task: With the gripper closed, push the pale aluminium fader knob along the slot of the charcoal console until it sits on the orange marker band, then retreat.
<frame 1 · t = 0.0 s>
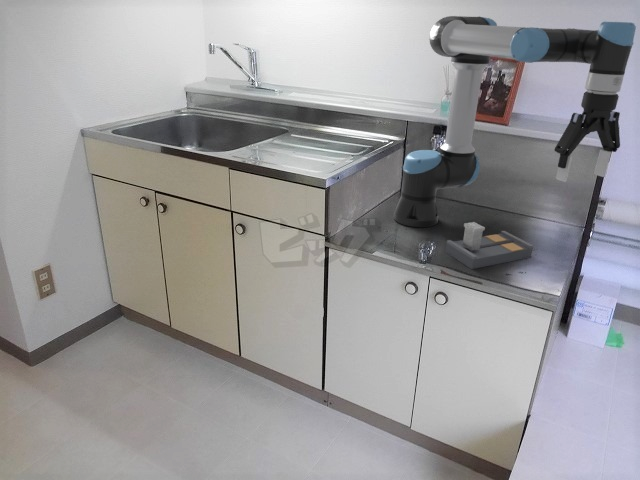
hand: (580, 178, 131), 28 cm above the counter, fingers open, 13 cm apart
fader knob: (472, 236, 147), point 7 cm above the counter, slide at -7.0 cm
console: (487, 254, 153), on the counter
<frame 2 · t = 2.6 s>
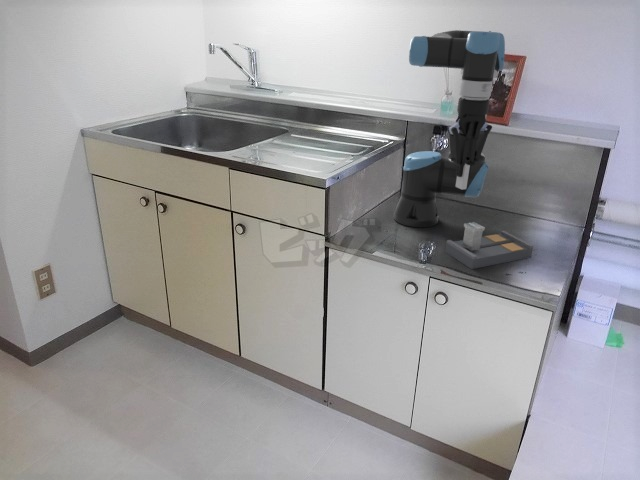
hand: (460, 187, 138), 22 cm above the counter, fingers closed
nothing on the counter moved.
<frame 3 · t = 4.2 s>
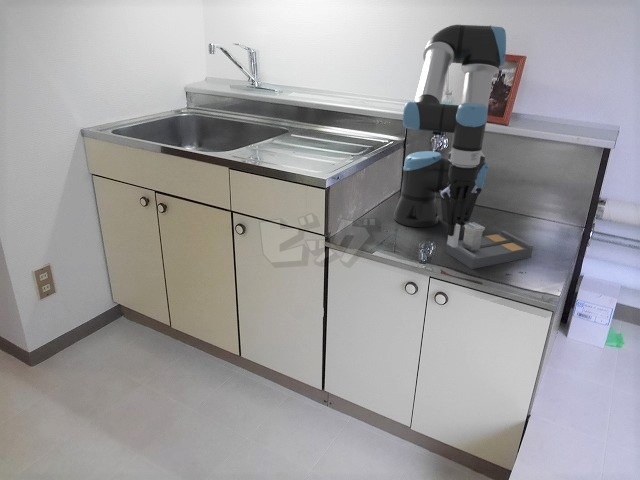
hand: (452, 245, 145), 5 cm above the counter, fingers closed
nothing on the counter moved.
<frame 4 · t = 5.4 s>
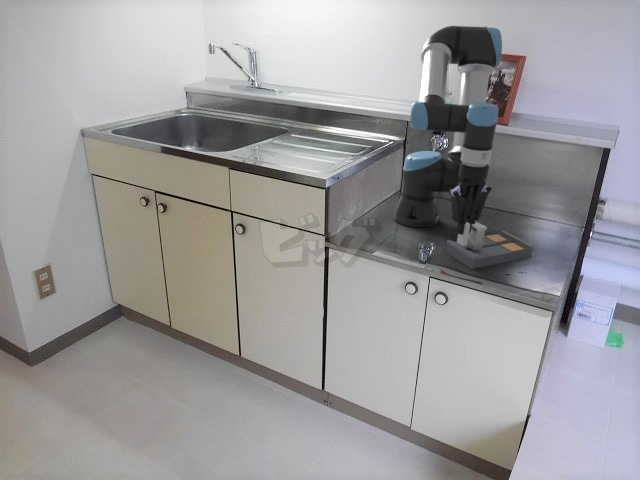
hand: (461, 243, 147), 5 cm above the counter, fingers closed
fader knob: (474, 235, 148), point 7 cm above the counter, slide at -6.2 cm, touching gripper
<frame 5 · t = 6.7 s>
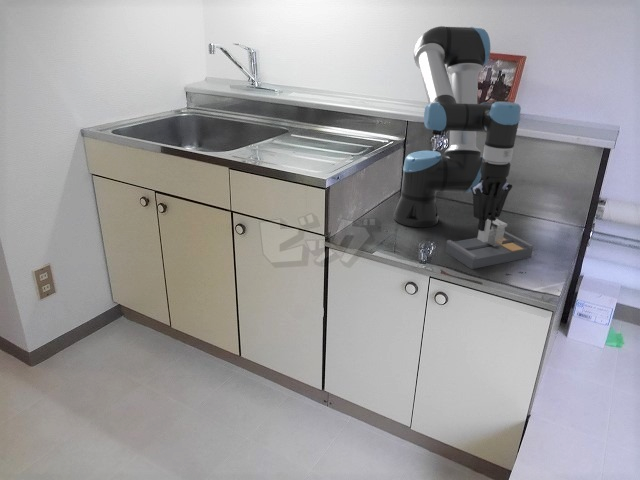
hand: (482, 240, 150), 5 cm above the counter, fingers closed
fader knob: (495, 232, 151), point 7 cm above the counter, slide at 1.2 cm, touching gripper
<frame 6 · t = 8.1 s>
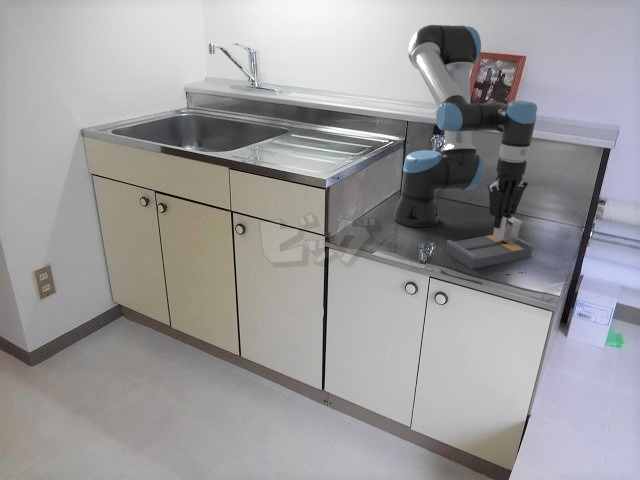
hand: (497, 237, 152), 5 cm above the counter, fingers closed
fader knob: (510, 229, 153), point 7 cm above the counter, slide at 7.0 cm, touching gripper
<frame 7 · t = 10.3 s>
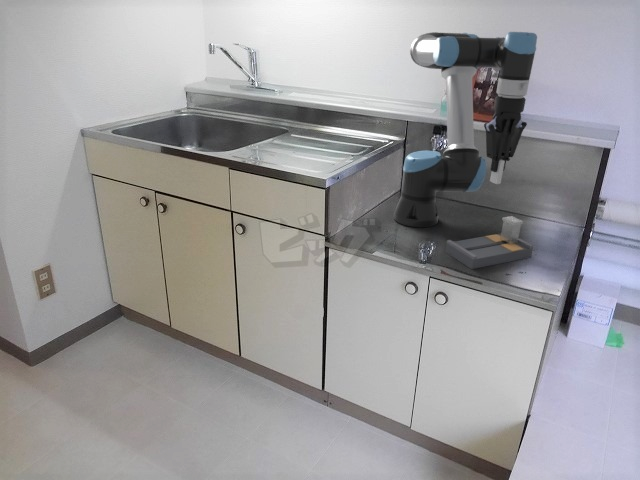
hand: (495, 182, 144), 22 cm above the counter, fingers closed
fader knob: (510, 229, 153), point 7 cm above the counter, slide at 7.3 cm
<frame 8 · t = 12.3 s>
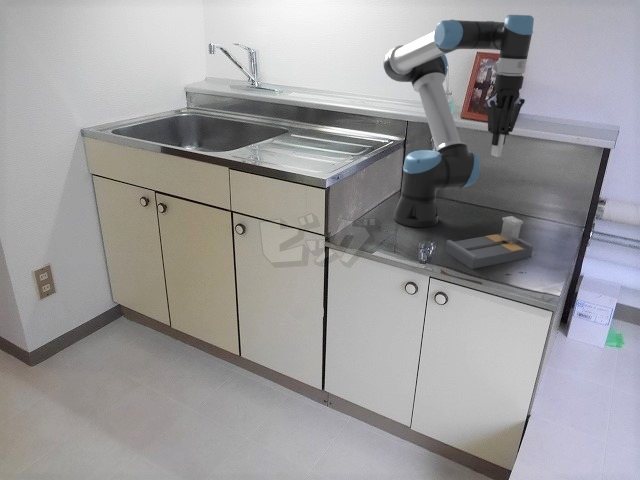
hand: (495, 155, 155), 26 cm above the counter, fingers closed
nothing on the counter moved.
at the end: fader knob slide at 7.3 cm; fader knob touching nothing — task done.
